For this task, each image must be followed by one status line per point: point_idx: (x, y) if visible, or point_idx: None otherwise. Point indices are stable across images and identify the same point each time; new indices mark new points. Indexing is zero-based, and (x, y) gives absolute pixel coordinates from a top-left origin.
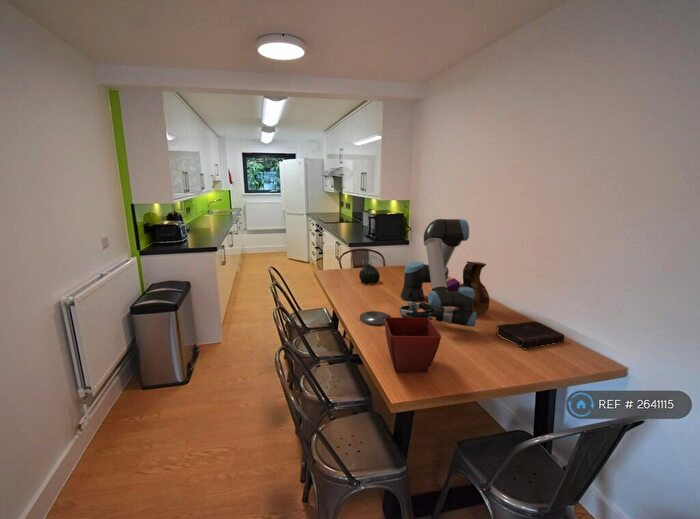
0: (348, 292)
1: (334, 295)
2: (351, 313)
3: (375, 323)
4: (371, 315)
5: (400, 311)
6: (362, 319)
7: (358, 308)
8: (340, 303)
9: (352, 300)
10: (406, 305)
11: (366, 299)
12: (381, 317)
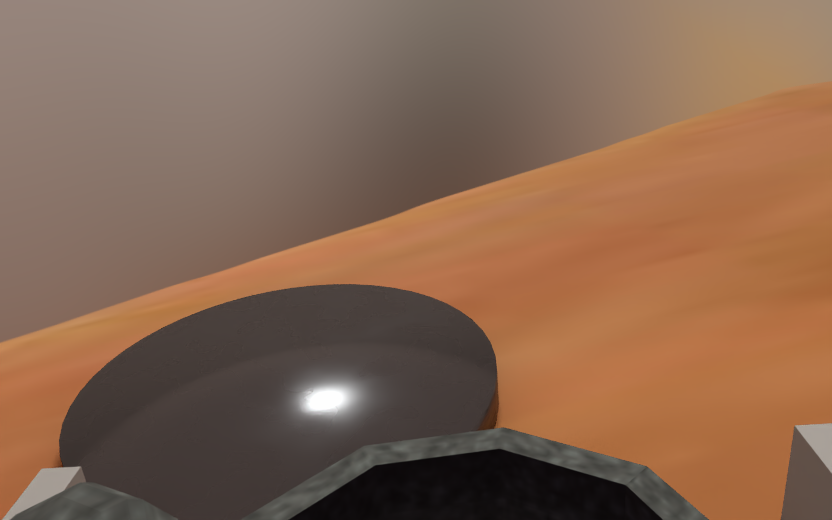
0: (806, 144)
1: (660, 139)
2: (373, 258)
3: (63, 435)
4: (318, 339)
5: None
6: (169, 327)
7: (525, 250)
8: (542, 182)
9: (671, 190)
10: (681, 496)
11: (806, 217)
12: (289, 420)
